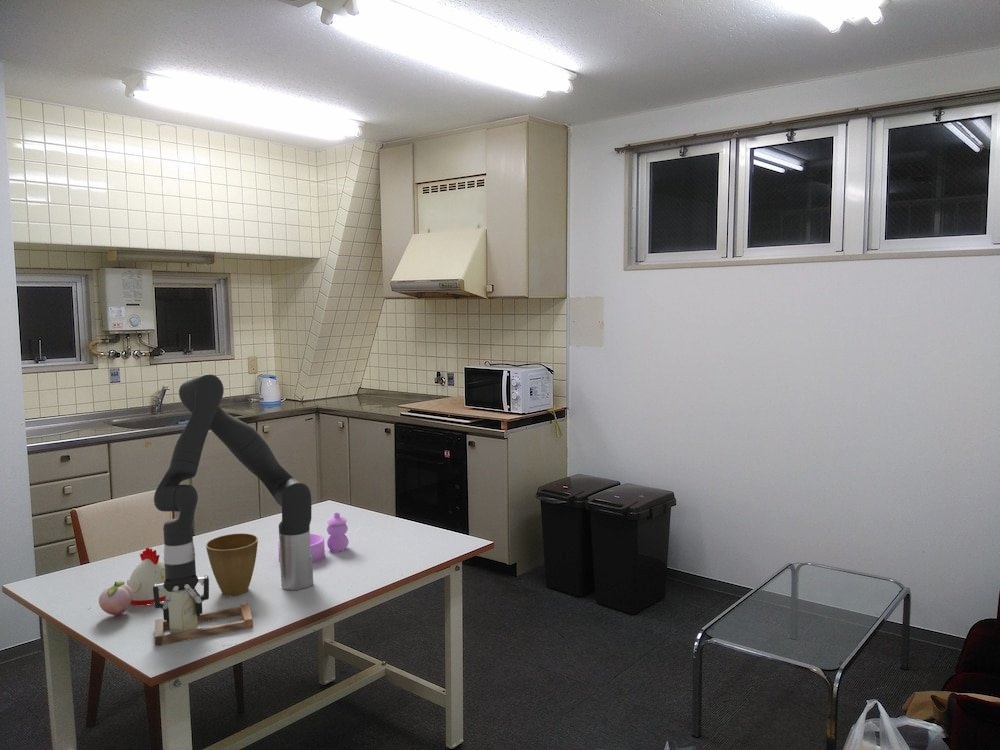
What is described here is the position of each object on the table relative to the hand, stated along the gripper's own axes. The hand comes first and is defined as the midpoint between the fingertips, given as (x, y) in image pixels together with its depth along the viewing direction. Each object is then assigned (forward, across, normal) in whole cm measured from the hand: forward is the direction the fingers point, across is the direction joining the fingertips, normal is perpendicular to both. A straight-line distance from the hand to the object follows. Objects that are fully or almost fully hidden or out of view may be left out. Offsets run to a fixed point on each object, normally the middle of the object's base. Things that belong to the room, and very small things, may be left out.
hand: (183, 618), depth 196 cm
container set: (+4, -44, -45) cm, 63 cm away
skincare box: (+4, 0, 0) cm, 4 cm away
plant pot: (+4, -15, -23) cm, 28 cm away
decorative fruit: (+4, +17, -20) cm, 27 cm away
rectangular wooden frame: (+4, -5, 0) cm, 6 cm away
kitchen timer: (+4, +8, -31) cm, 32 cm away
